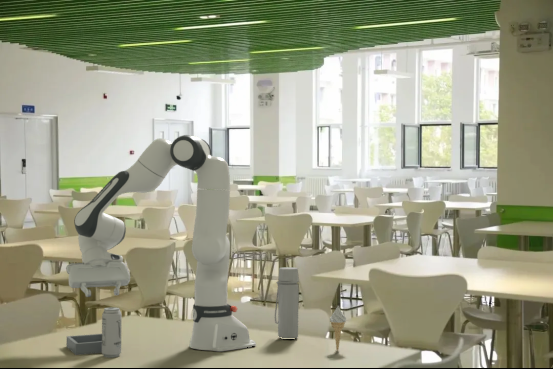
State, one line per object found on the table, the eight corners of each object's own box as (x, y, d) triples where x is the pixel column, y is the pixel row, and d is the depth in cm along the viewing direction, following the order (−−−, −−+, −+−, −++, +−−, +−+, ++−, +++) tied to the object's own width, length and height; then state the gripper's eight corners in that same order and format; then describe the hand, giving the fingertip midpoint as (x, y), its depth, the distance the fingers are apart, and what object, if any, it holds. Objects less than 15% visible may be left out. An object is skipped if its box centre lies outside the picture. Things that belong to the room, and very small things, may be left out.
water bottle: (302, 337, 286) (303, 267, 286) (291, 341, 279) (291, 269, 279) (280, 335, 290) (281, 266, 290) (269, 338, 284) (269, 268, 284)
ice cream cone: (336, 348, 268) (337, 303, 268) (349, 350, 264) (349, 305, 264) (325, 350, 264) (326, 305, 264) (338, 353, 260) (338, 307, 260)
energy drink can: (118, 358, 250) (119, 310, 250) (99, 357, 250) (100, 309, 250) (123, 354, 256) (123, 307, 256) (104, 353, 256) (104, 307, 256)
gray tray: (108, 343, 272) (108, 333, 272) (118, 351, 260) (118, 340, 260) (66, 346, 266) (66, 336, 266) (75, 354, 254) (75, 343, 254)
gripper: (66, 257, 265) (72, 290, 257) (126, 255, 274) (134, 287, 266) (63, 269, 269) (69, 302, 261) (123, 267, 278) (130, 299, 270)
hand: (103, 295), depth 263 cm, fingers open, 8 cm apart
